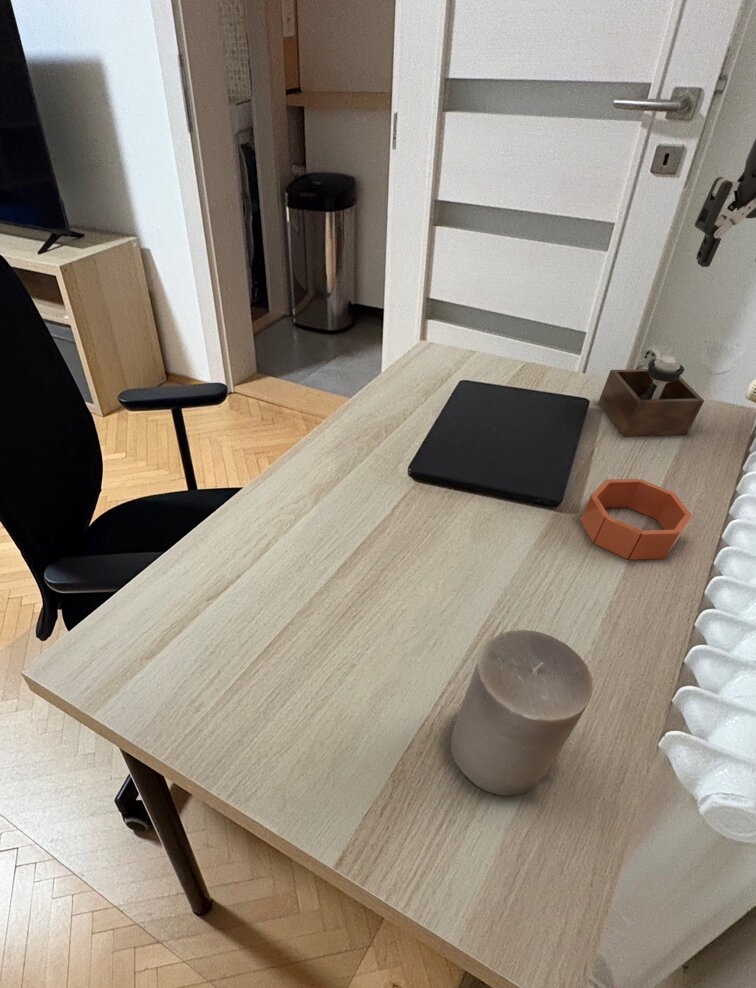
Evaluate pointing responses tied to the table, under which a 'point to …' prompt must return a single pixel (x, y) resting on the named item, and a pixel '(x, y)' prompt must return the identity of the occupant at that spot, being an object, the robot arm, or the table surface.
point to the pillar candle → (519, 711)
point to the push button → (662, 375)
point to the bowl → (643, 500)
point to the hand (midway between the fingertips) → (731, 264)
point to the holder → (648, 405)
